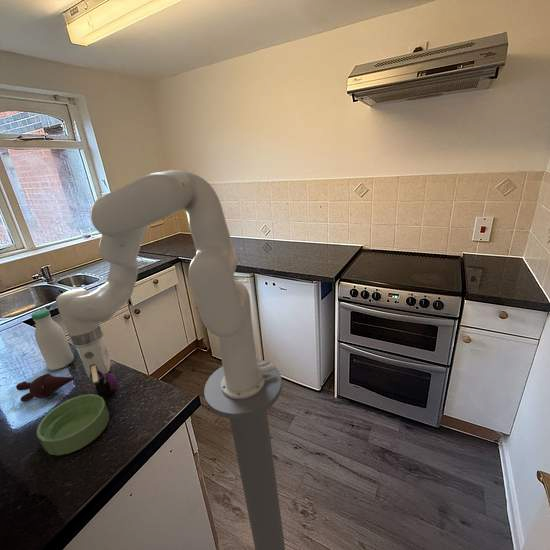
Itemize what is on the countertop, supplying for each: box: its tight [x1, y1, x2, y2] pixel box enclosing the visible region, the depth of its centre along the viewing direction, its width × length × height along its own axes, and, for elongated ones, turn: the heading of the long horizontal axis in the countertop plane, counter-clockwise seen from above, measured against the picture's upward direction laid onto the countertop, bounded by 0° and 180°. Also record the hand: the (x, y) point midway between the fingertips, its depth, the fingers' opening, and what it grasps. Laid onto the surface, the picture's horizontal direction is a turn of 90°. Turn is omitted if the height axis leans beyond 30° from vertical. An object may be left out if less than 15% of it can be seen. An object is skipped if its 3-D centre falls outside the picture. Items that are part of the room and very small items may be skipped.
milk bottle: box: [31, 308, 75, 371], centre depth 99 cm, size 8×8×20 cm
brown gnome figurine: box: [15, 373, 75, 403], centre depth 87 cm, size 7×7×15 cm
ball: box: [92, 372, 118, 394], centre depth 86 cm, size 6×6×6 cm
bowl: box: [36, 393, 110, 456], centre depth 74 cm, size 14×14×5 cm
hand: (106, 386), depth 87 cm, fingers closed on ball, 5 cm apart
